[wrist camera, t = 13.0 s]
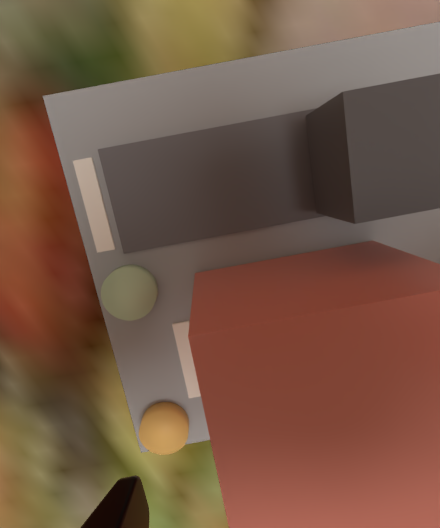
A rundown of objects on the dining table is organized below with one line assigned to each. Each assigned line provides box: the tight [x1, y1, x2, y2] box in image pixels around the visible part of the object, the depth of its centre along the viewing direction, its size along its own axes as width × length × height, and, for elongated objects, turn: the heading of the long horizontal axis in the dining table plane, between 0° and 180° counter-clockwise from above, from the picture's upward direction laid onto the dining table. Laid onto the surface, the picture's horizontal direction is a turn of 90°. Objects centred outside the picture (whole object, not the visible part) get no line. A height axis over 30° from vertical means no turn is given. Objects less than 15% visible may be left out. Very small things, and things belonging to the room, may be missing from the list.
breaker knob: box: [306, 73, 440, 224], centre depth 10 cm, size 2×3×3 cm
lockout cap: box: [188, 241, 440, 528], centre depth 10 cm, size 6×6×5 cm
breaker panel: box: [43, 22, 440, 455], centre depth 13 cm, size 22×13×2 cm, turn 100°
